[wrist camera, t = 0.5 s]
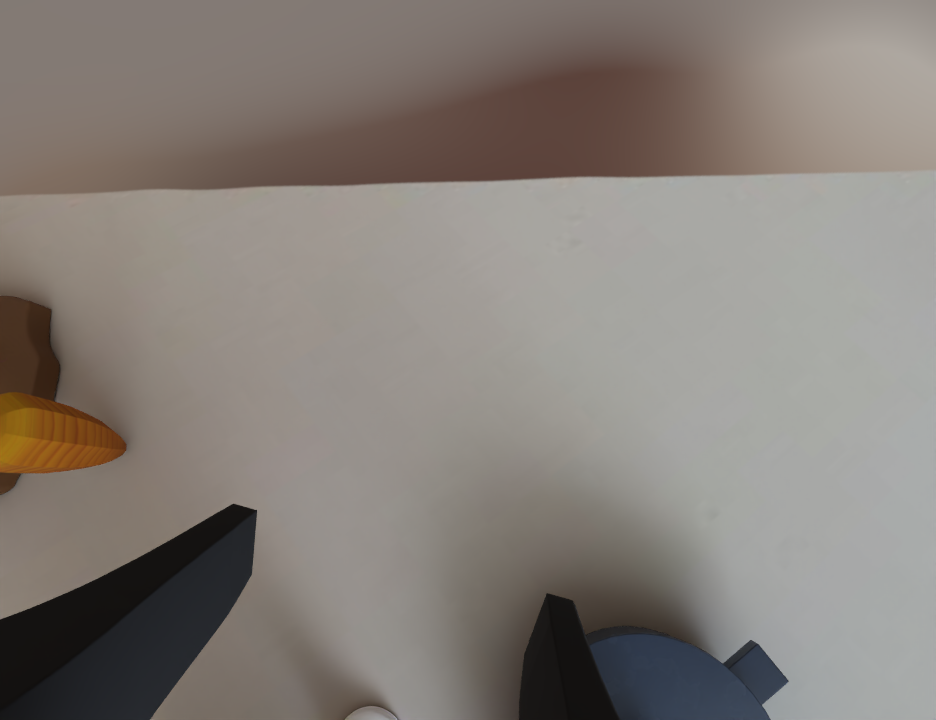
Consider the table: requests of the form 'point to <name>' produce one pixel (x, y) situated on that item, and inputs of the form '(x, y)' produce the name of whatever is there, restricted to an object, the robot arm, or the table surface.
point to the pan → (731, 664)
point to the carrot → (51, 436)
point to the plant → (25, 357)
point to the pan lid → (670, 680)
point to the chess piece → (371, 714)
